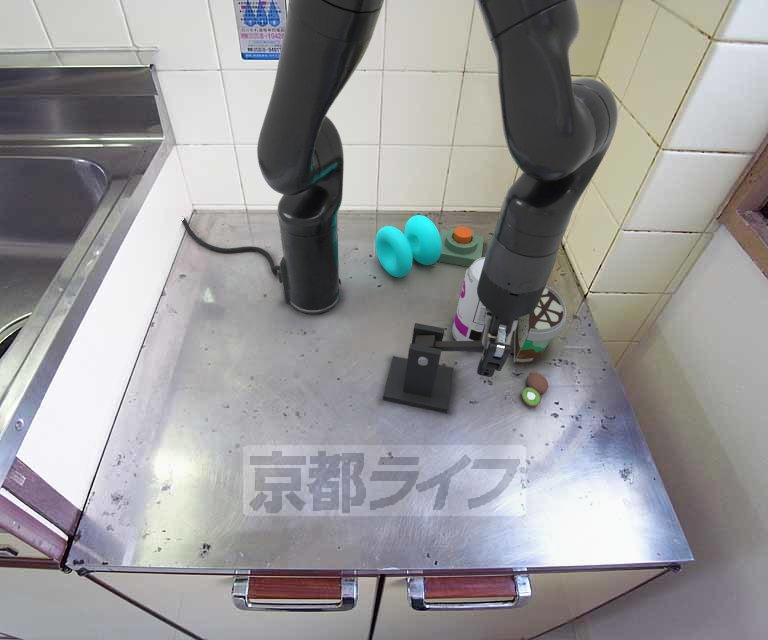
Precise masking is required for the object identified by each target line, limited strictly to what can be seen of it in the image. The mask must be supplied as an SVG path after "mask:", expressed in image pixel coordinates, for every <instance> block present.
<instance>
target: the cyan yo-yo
mask: <svg viewBox="0 0 768 640" xmlns="http://www.w3.org/2000/svg"><path fill="white" fill-rule="evenodd" d="M440 234H441V233H440V232H439V229H438V228H437V226H436V225H435V223H434V222H433V221H432V220H431V219H430V218H429V217H427V216H425V215H422V214H417V215H413V216H412V217H410V218H408V220H407V221H406V223H405V225H404V231H403V232H402V231H401V230H400V229H399V228H397V227H395V226H391V225H386V226H382V227H381V228H380V229H379V230H378V231H377V233H376V236H375V240H374V241H375V242H374V243H375V244H374V245H375V252H376V255H377V258H378V260H379V263H380V265H381V266H382V268H383V269H384V271H386V273H388V274H389V275H391V276H392V277H395V278H403V277H405V276H407V275H408V274H409V273H410V271H411V269H412V268H413V267H412V266H413V262H414V260H415V262H417V263H419V264H420V265H424V266H430V265H433V264H435V263H436V262H438V261H437V260H438V259H439V257H440V255H441V251H442V242H441V237H440Z"/></svg>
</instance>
